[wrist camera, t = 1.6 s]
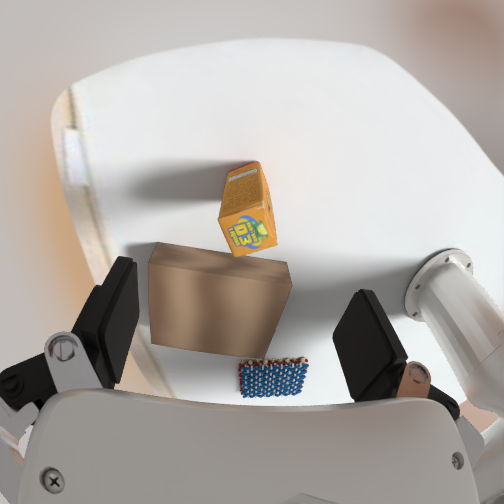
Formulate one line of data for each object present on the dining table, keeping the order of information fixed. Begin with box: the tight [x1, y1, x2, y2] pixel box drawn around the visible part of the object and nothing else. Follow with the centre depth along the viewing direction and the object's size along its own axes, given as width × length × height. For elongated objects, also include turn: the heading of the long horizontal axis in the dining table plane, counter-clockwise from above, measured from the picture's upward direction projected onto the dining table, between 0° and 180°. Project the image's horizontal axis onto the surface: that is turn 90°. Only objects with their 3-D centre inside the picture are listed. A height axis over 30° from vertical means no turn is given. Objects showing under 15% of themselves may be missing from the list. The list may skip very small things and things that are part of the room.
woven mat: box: [238, 358, 309, 398], centre depth 42 cm, size 10×11×2 cm
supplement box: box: [218, 161, 277, 257], centre depth 22 cm, size 3×3×10 cm
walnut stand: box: [148, 242, 292, 359], centre depth 31 cm, size 14×12×4 cm
